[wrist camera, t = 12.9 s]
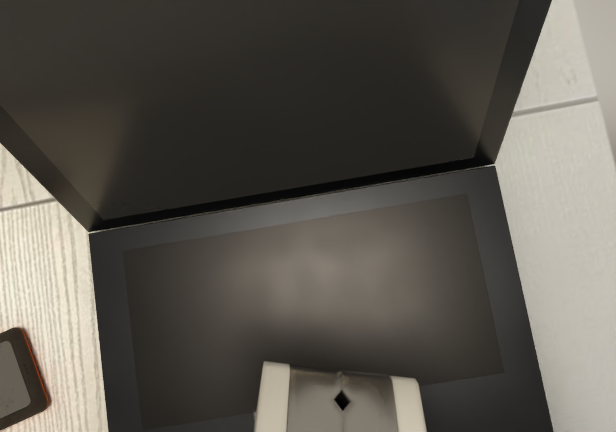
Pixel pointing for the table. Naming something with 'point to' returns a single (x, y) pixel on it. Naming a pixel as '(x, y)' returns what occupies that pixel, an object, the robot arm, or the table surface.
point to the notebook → (320, 306)
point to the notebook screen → (252, 97)
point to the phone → (18, 380)
